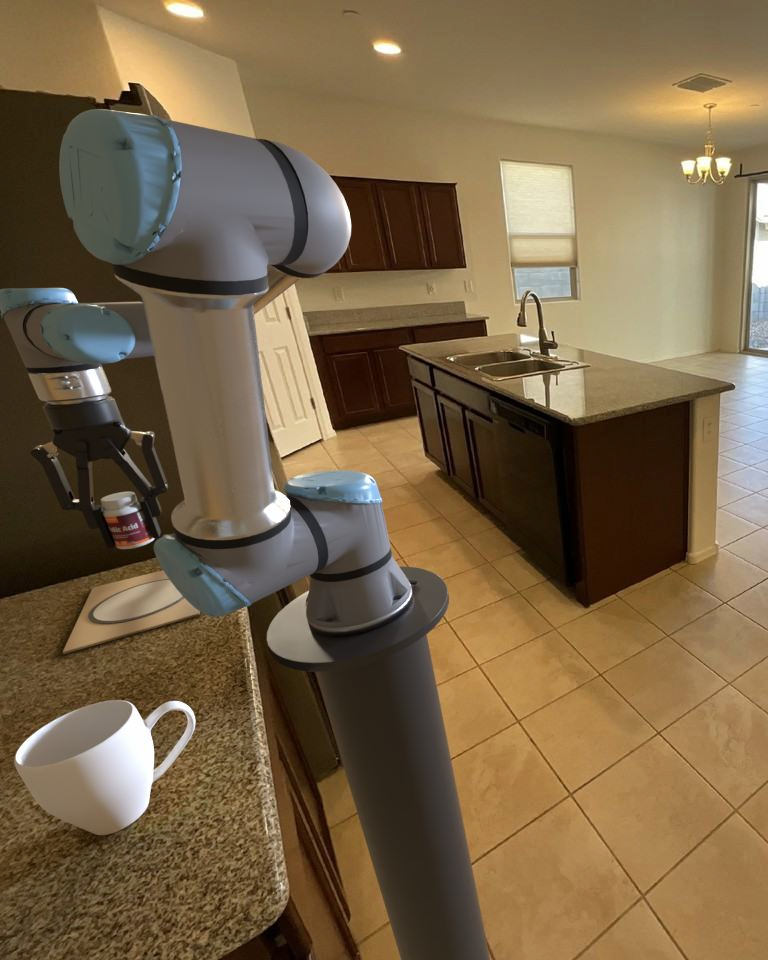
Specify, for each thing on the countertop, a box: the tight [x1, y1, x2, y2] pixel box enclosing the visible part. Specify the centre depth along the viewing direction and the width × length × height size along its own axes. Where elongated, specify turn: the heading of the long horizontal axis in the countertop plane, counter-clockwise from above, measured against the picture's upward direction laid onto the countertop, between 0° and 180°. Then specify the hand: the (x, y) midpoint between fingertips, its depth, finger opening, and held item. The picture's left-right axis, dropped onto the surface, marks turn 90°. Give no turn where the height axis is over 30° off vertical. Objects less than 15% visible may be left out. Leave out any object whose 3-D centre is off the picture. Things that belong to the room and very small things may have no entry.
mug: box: [13, 699, 196, 836], centre depth 53 cm, size 12×8×11 cm
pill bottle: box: [100, 491, 156, 550], centre depth 84 cm, size 5×5×8 cm
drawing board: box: [62, 569, 201, 655], centre depth 90 cm, size 16×22×1 cm
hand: (135, 539), depth 85 cm, fingers closed on pill bottle, 5 cm apart
